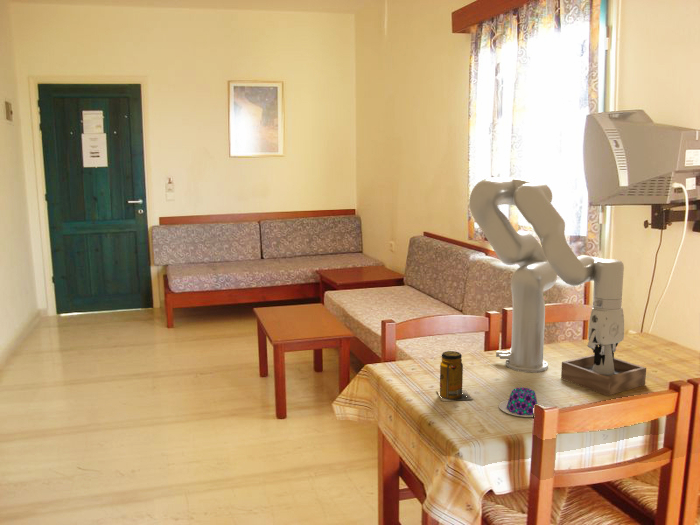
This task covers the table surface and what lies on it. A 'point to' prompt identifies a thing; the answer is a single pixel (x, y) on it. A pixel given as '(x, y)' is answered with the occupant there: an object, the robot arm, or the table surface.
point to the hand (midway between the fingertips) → (603, 365)
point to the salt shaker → (605, 363)
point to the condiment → (452, 377)
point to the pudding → (520, 402)
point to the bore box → (620, 381)
